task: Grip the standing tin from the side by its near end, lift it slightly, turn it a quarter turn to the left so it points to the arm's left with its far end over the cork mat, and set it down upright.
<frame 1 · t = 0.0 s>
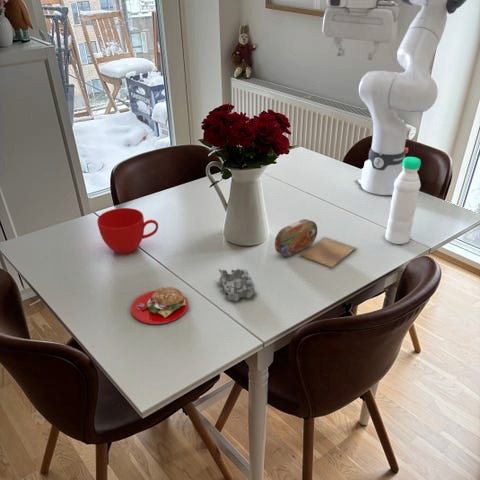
hand: (355, 58, 135), 48 cm above the table, tool pointing down, fingers open, 8 cm apart
hamburger: (159, 308, 125), on the table
cork mat: (328, 252, 145), on the table
grey lumpy block: (237, 289, 131), on the table
ceramic cup: (132, 248, 149), on the table
water bottle: (396, 239, 151), on the table
tin: (295, 250, 147), on the table
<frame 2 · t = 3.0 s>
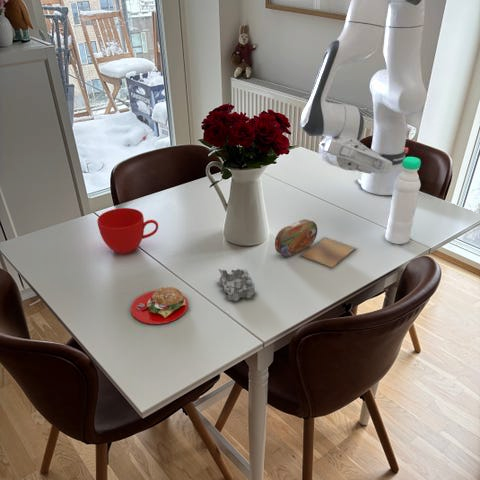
hand: (369, 159, 134), 26 cm above the table, tool horizontal, fingers open, 8 cm apart
nothing on the table moved.
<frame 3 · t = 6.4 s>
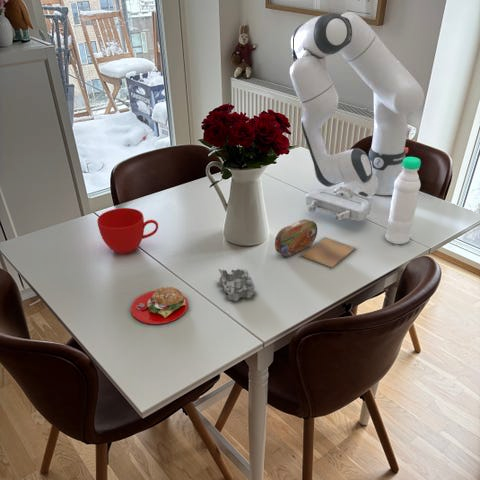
hand: (323, 213, 153), 6 cm above the table, tool horizontal, fingers open, 8 cm apart
nothing on the table moved.
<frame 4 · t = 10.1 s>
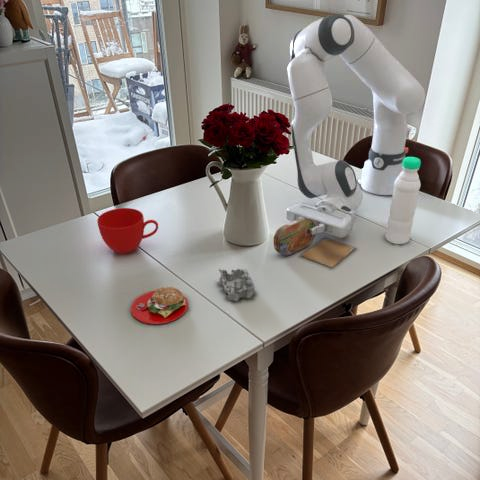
hand: (304, 229, 146), 5 cm above the table, tool horizontal, fingers closed on tin, 3 cm apart
tin: (295, 249, 147), on the table, touching gripper
everything else where it was.
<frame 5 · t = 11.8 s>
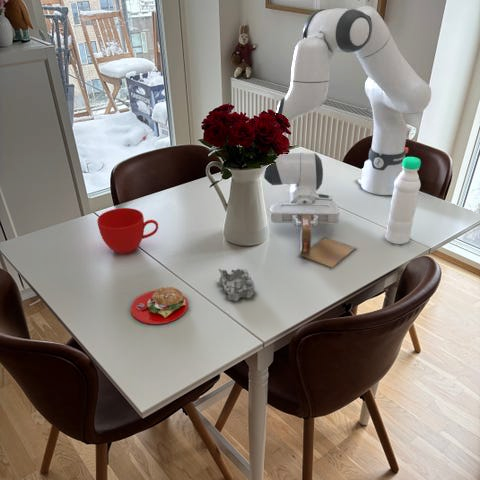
hand: (305, 225, 145), 7 cm above the table, tool horizontal, fingers closed on tin, 2 cm apart
tin: (303, 248, 145), point 1 cm above the table, touching gripper
everything else where it was.
when the fingers open (6 cm above the table, at t = 13.4 s): tin stays where it is, resting on cork mat.
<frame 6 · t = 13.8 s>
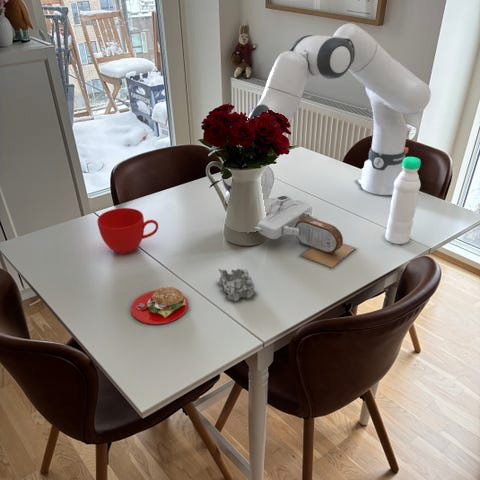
hand: (308, 226, 146), 6 cm above the table, tool horizontal, fingers open, 7 cm apart
tin: (316, 248, 147), resting on cork mat
everything else where it was.
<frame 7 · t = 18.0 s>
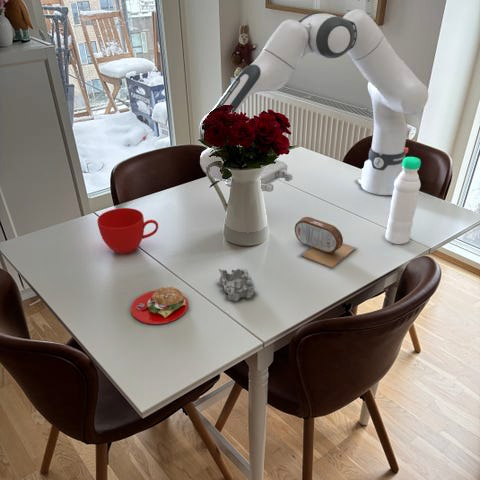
hand: (281, 183, 145), 17 cm above the table, tool horizontal, fingers open, 8 cm apart
nothing on the table moved.
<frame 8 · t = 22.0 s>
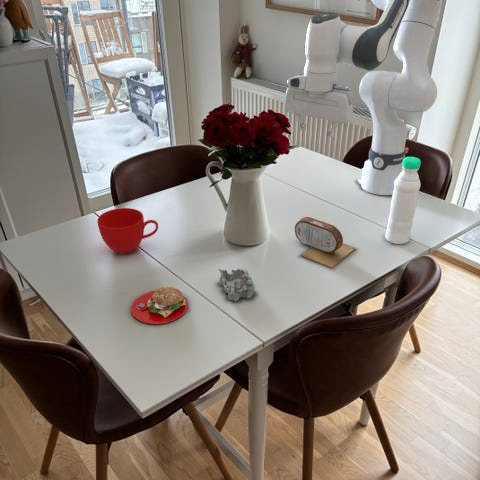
hand: (316, 133, 143), 29 cm above the table, tool pointing down, fingers open, 8 cm apart
nothing on the table moved.
at the end: tin 0.6 cm from the target spot, on the table; tin touching cork mat; tin tilted 0° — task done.
